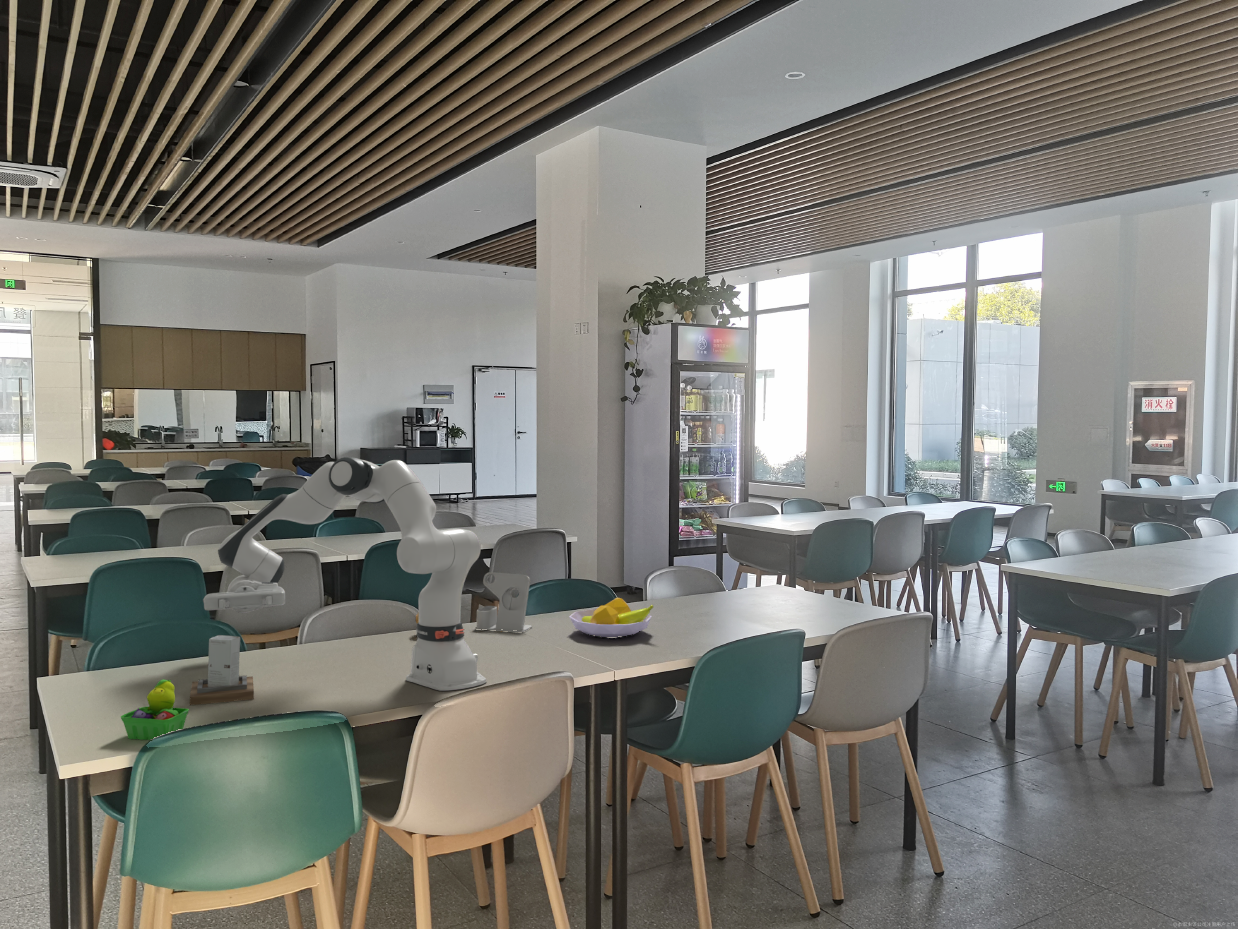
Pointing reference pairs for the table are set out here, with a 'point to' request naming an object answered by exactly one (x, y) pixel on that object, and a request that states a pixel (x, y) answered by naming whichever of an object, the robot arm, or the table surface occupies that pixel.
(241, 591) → the robot arm
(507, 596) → the phone holder
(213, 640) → the skincare box
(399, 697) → the table surface
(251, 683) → the socket plinth
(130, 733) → the fruit basket
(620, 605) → the fruit bowl
